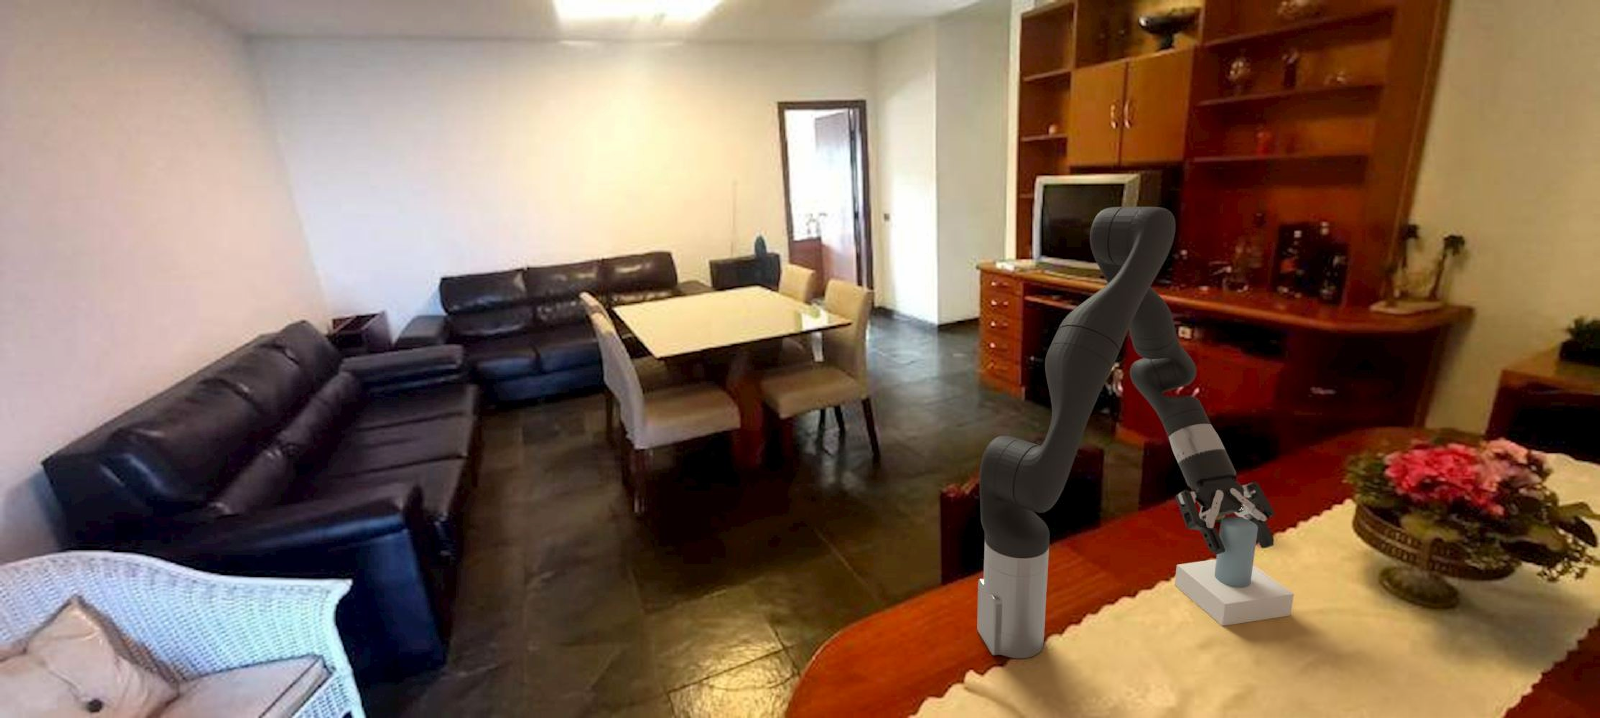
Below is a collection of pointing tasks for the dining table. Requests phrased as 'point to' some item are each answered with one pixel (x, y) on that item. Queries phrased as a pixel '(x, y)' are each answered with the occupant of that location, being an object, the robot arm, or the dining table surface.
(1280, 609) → the white plinth
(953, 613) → the dining table surface
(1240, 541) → the blue cylinder
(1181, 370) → the robot arm
